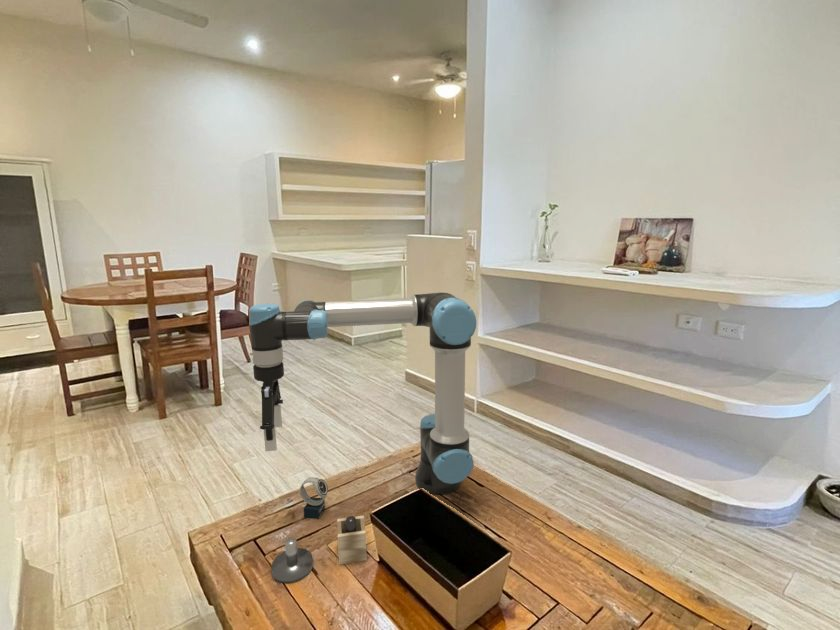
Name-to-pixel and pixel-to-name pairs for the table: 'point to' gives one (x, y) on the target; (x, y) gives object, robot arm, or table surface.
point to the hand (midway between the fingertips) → (274, 438)
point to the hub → (292, 563)
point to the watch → (314, 504)
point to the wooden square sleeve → (351, 541)
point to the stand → (350, 524)
